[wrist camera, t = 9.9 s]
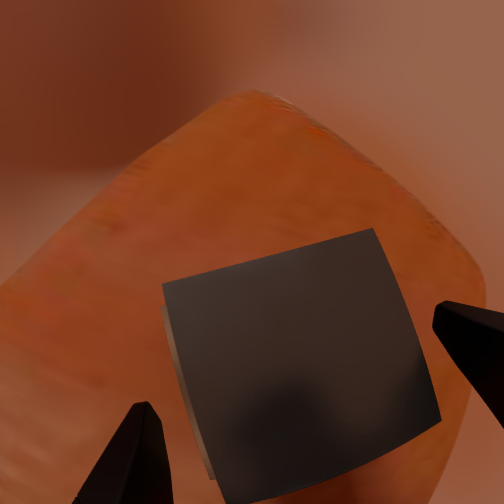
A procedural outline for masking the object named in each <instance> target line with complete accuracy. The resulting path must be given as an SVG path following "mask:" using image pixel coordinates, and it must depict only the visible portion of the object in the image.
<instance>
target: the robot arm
mask: <svg viewBox="0 0 504 504" xmlns="http://www.w3.org/2000/svg"><path fill="white" fill-rule="evenodd" d="M432 328H433V331H434V333H435V334H436V335H437V337H438V338H439V340H440V341H441V343H442V344H443V346H444V347H445V349H446V350H447V352H448V354H449V355H450V357H451V358H452V360H453V361H454V363H455V364H456V365H457V367H458V368H459V369H460V371H461V372H462V373H463V374H464V376H465V377H466V378H467V379H468V381H469V382H470V383H471V385H472V386H473V387H474V389H475V390H476V391H477V392H478V394H479V395H480V396H481V398H482V399H483V401H484V402H485V403H486V404H487V406H488V407H489V409H490V410H491V411H492V413H493V414H494V416H495V417H496V418H497V420H498V421H499V423H500V424H501V426H502V427H503V428H504V313H501V312H496V311H492V310H487V309H483V308H479V307H474V306H470V305H465V304H461V303H456V302H452V301H443V302H441V303H439V304H437V305H436V307H435V312H434V317H433V323H432ZM77 496H78V497H75V499H74V501H73V502H72V504H174V502H173V492H172V481H171V471H170V465H169V460H168V455H167V450H166V445H165V439H164V433H163V427H162V423H161V420H160V418H159V417H158V415H157V414H156V412H155V411H154V409H153V407H152V406H151V404H150V403H149V402H147V401H145V402H139V403H135V404H133V405H132V407H131V408H130V410H129V412H128V413H127V415H126V416H125V418H124V420H123V421H122V423H121V424H120V426H119V427H118V429H117V431H116V432H115V434H114V435H113V437H112V439H111V440H110V442H109V444H108V445H107V447H106V448H105V450H104V452H103V453H102V455H101V456H100V458H99V460H98V461H97V463H96V465H95V466H94V468H93V469H92V471H91V473H90V474H89V476H88V478H87V479H86V481H85V483H84V484H83V486H82V487H81V489H80V491H79V492H78V494H77Z"/></svg>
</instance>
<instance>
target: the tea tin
mask: <svg viewBox="0 0 504 504" xmlns="http://www.w3.org/2000/svg"><path fill="white" fill-rule="evenodd" d="M162 287H163V292H164V297H165V302H166V306H167V311H168V316H169V320H170V325H171V329H172V333H173V338H174V342H175V346H176V350H177V354H178V358H179V362H180V366H181V370H182V373H183V377H184V381H185V384H186V388H187V391H188V395H189V398H190V402H191V405H192V409H193V412H194V415H195V418H196V422H197V425H198V428H199V431H200V434H201V437H202V440H203V443H204V446H205V449H206V452H207V455H208V458H209V460H210V463H211V466H212V469H213V471H214V474H215V477H216V479H217V482H218V485H219V487H220V490H221V492H222V495H223V497H224V500H225V502H226V504H249V503H254V502H258V501H262V500H266V499H270V498H273V497H277V496H281V495H284V494H287V493H291V492H294V491H297V490H300V489H303V488H306V487H309V486H312V485H315V484H318V483H320V482H323V481H326V480H328V479H331V478H334V477H336V476H338V475H341V474H343V473H346V472H348V471H350V470H353V469H355V468H357V467H359V466H362V465H364V464H366V463H368V462H370V461H372V460H374V459H376V458H378V457H380V456H382V455H384V454H386V453H388V452H390V451H392V450H394V449H396V448H397V447H399V446H401V445H403V444H405V443H406V442H408V441H410V440H412V439H413V438H415V437H417V436H418V435H420V434H422V433H423V432H425V431H426V430H428V429H430V428H431V427H433V426H434V425H436V424H437V423H439V422H440V421H442V420H441V415H440V411H439V407H438V403H437V399H436V395H435V392H434V388H433V384H432V381H431V377H430V374H429V371H428V367H427V364H426V361H425V358H424V355H423V351H422V348H421V345H420V342H419V339H418V336H417V334H416V331H415V328H414V325H413V322H412V319H411V317H410V314H409V311H408V309H407V306H406V303H405V301H404V298H403V296H402V293H401V291H400V288H399V286H398V283H397V281H396V279H395V276H394V274H393V271H392V269H391V267H390V264H389V262H388V260H387V258H386V255H385V253H384V251H383V249H382V246H381V244H380V242H379V240H378V238H377V236H376V234H375V231H374V229H373V228H370V229H367V230H363V231H359V232H356V233H352V234H348V235H345V236H341V237H337V238H334V239H330V240H326V241H323V242H319V243H315V244H311V245H308V246H304V247H300V248H296V249H293V250H289V251H285V252H282V253H278V254H274V255H270V256H266V257H263V258H259V259H255V260H251V261H248V262H244V263H240V264H236V265H232V266H229V267H225V268H221V269H217V270H213V271H210V272H206V273H202V274H198V275H194V276H190V277H187V278H183V279H179V280H175V281H171V282H167V283H163V284H162Z"/></svg>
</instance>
